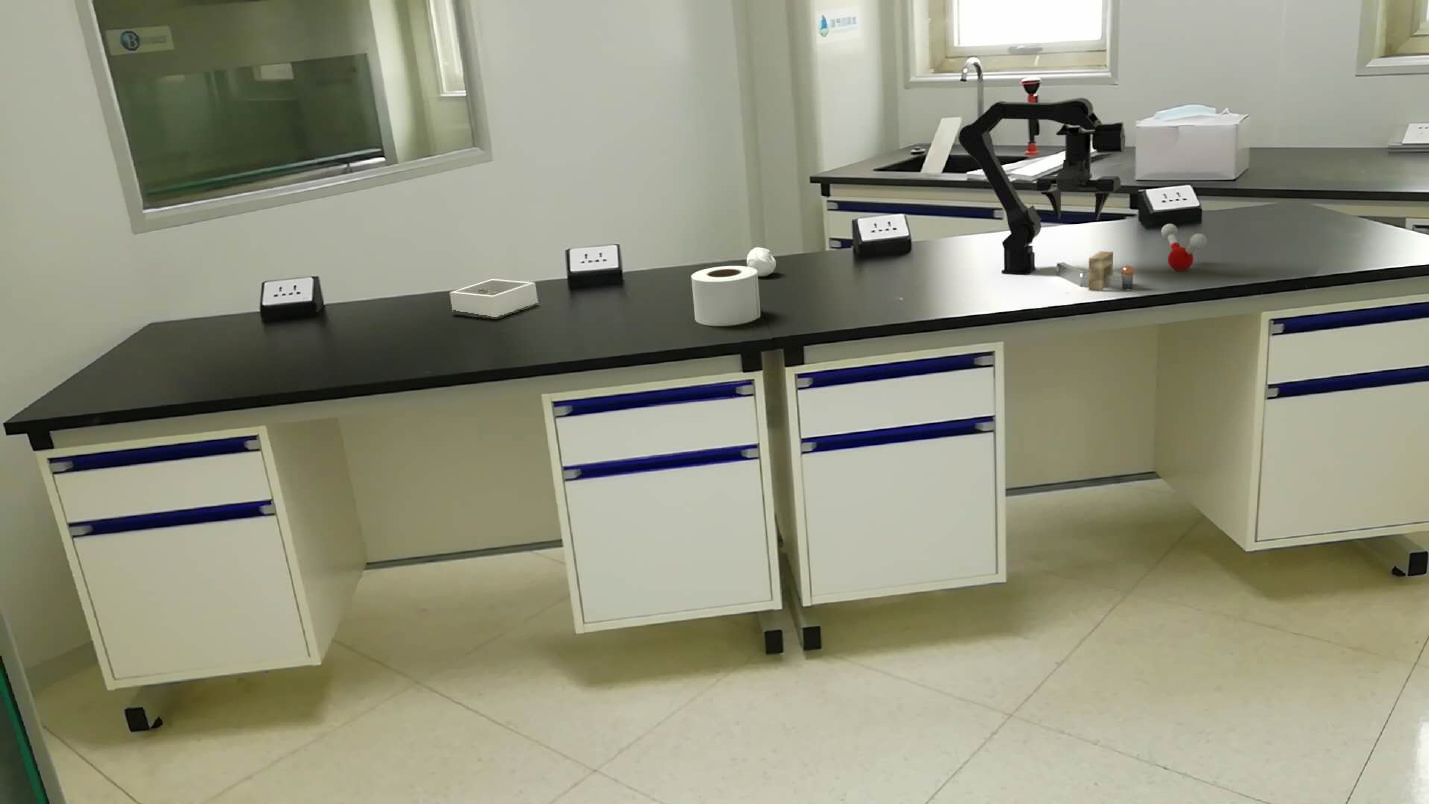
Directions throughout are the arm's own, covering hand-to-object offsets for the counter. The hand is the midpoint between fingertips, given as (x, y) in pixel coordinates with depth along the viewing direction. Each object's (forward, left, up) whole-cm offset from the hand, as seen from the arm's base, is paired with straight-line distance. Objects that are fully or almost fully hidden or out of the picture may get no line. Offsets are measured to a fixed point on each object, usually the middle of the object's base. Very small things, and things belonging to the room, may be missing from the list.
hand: (1077, 219), depth 278 cm
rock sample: (-125, -76, -13) cm, 147 cm away
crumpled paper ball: (-77, -23, -13) cm, 82 cm away
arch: (+10, -12, -13) cm, 20 cm away
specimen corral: (-126, -74, -13) cm, 147 cm away
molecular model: (+22, +8, -13) cm, 27 cm away
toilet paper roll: (-61, -61, -13) cm, 87 cm away
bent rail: (+7, -8, -13) cm, 16 cm away
